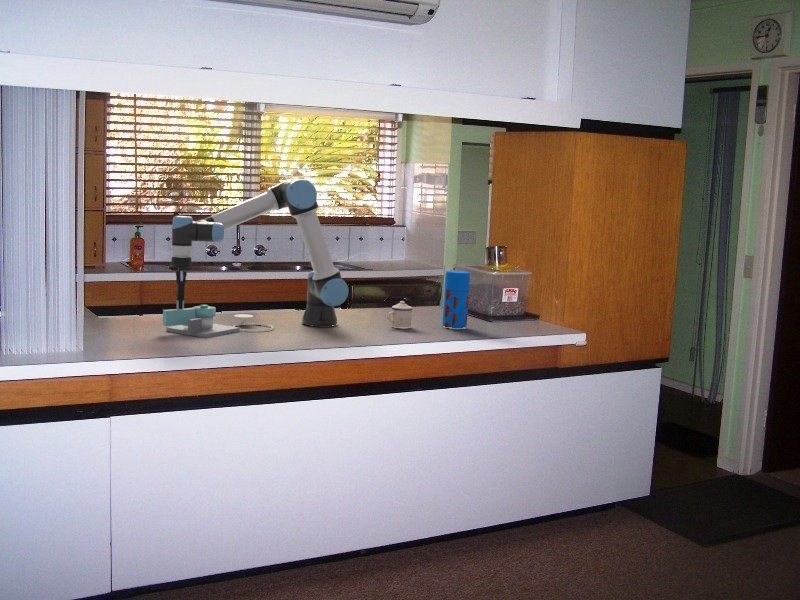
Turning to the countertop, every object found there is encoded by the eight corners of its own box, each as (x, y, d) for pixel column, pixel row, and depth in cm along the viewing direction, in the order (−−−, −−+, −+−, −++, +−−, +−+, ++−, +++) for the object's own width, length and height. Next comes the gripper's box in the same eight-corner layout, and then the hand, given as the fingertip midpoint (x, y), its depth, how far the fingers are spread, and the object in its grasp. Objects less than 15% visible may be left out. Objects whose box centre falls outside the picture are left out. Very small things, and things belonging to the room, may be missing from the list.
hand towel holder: (245, 323, 340) (220, 315, 355) (245, 334, 340) (220, 325, 356) (282, 320, 351) (256, 313, 366) (281, 331, 351) (256, 323, 367)
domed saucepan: (207, 320, 346) (208, 303, 345) (219, 323, 339) (220, 306, 338) (158, 323, 331) (158, 306, 330) (170, 327, 324) (170, 309, 324)
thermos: (456, 325, 389) (459, 270, 386) (471, 329, 380) (475, 273, 377) (437, 326, 383) (440, 270, 380) (451, 330, 374) (455, 273, 371)
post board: (239, 331, 344) (240, 315, 343) (200, 338, 324) (201, 321, 323) (201, 325, 353) (201, 309, 352) (160, 332, 333) (161, 315, 332)
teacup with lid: (403, 325, 381) (404, 299, 379) (415, 328, 373) (417, 302, 372) (381, 326, 373) (382, 300, 372) (393, 330, 366) (394, 303, 365)
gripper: (171, 254, 336) (169, 313, 340) (172, 257, 324) (170, 319, 327) (190, 254, 338) (189, 313, 342) (192, 258, 326) (190, 319, 329)
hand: (180, 316), depth 335 cm, fingers closed
